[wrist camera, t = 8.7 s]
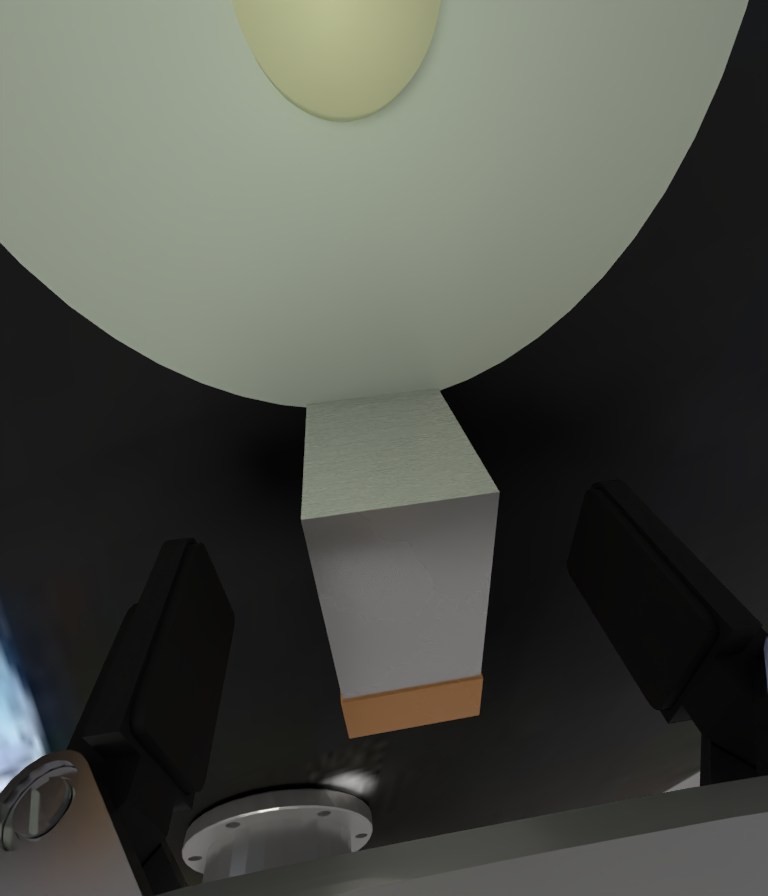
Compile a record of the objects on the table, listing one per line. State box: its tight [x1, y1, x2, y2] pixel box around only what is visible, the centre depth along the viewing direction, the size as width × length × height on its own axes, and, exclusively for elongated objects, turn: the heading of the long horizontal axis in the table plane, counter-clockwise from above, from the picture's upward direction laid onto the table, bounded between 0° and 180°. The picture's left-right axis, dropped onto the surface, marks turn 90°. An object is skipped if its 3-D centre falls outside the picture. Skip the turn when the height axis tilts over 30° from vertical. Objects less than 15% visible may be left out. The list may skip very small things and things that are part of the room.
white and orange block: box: [301, 388, 500, 739], centre depth 12 cm, size 8×4×6 cm, turn 4°
